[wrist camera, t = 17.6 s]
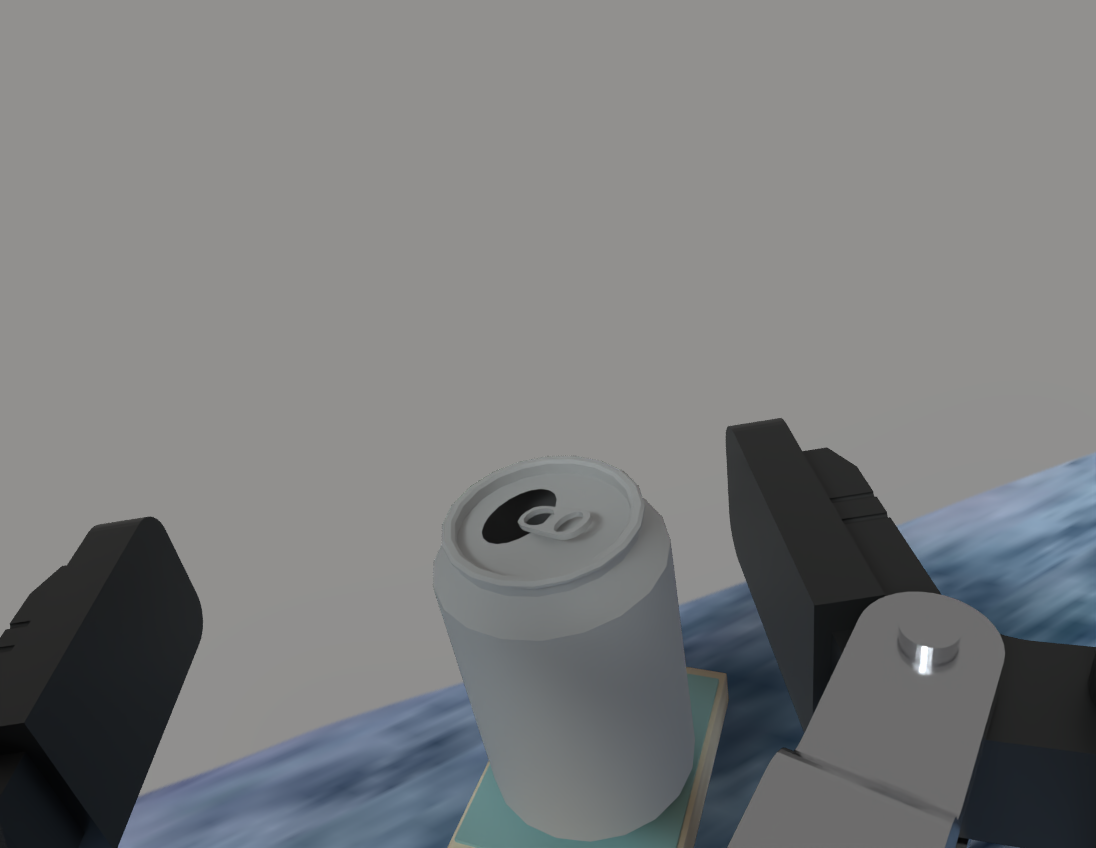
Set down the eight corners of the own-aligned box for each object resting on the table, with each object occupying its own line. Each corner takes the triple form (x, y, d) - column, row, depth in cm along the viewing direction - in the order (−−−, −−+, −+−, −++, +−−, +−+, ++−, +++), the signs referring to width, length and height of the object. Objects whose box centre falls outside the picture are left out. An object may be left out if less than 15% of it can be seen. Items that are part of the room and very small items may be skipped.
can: (578, 655, 36) (527, 419, 30) (735, 734, 32) (713, 474, 26) (456, 787, 32) (368, 541, 26) (619, 900, 27) (558, 634, 21)
